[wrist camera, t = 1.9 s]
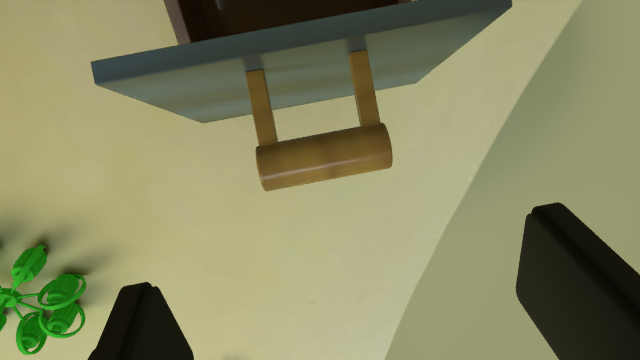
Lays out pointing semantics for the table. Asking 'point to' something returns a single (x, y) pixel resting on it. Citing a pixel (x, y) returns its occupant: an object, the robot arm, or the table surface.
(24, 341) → the chandelier
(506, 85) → the table surface
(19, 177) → the table surface
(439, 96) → the table surface
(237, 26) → the chest
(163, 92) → the lid
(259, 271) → the table surface
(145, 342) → the robot arm
